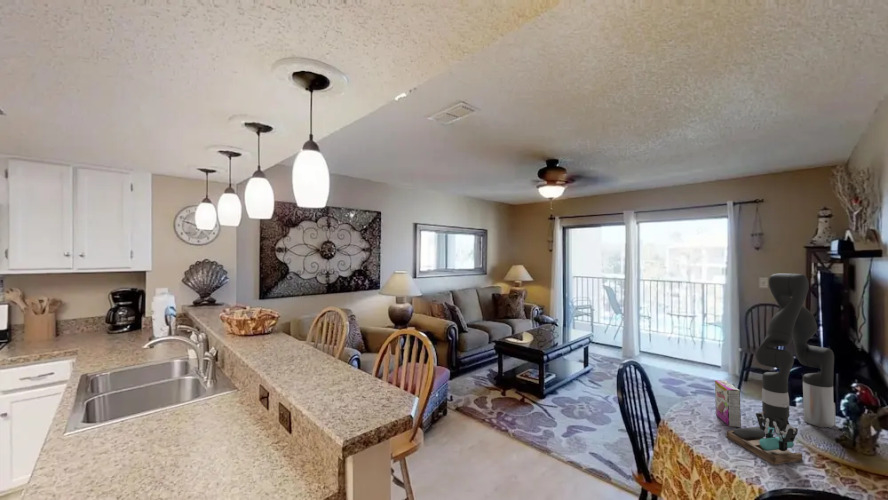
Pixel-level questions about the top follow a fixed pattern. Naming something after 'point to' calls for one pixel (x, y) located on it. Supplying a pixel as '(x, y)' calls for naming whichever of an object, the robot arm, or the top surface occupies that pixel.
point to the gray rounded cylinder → (750, 433)
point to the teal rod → (772, 443)
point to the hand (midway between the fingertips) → (776, 446)
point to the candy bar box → (728, 403)
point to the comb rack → (771, 455)
